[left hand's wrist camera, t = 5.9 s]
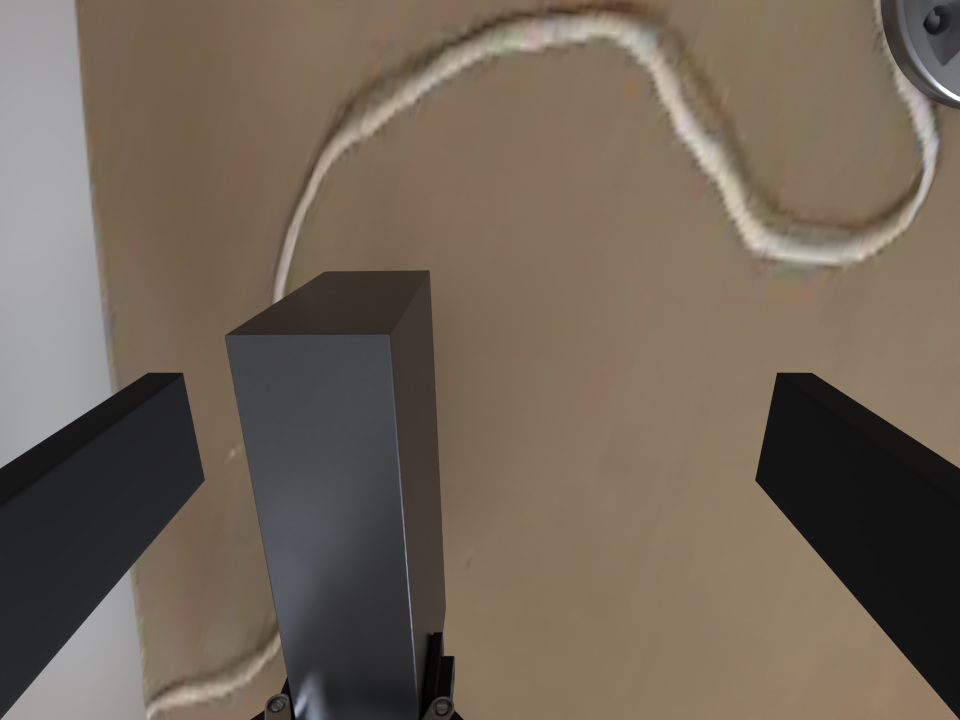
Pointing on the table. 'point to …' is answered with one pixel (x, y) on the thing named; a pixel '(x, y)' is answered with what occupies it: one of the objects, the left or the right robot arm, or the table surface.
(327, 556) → the box
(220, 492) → the table surface
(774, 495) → the left robot arm
